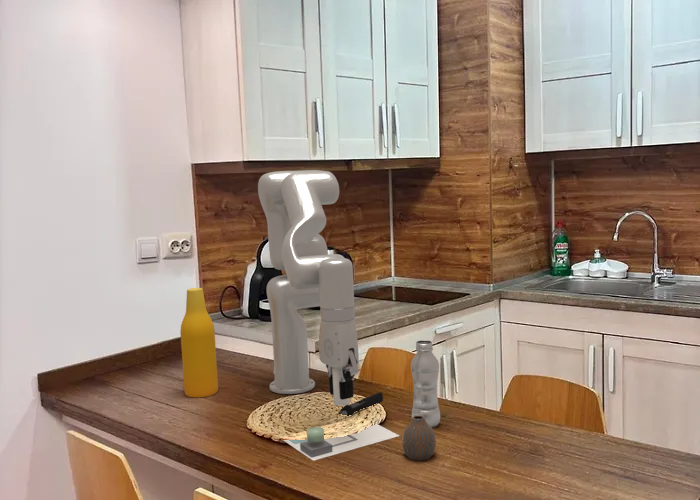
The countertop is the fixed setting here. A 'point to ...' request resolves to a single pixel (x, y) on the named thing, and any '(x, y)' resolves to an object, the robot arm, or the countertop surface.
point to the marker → (336, 388)
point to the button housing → (316, 448)
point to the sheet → (350, 441)
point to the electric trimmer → (361, 404)
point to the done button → (315, 434)
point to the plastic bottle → (425, 383)
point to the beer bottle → (198, 347)
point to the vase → (418, 439)
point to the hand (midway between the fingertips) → (341, 395)
